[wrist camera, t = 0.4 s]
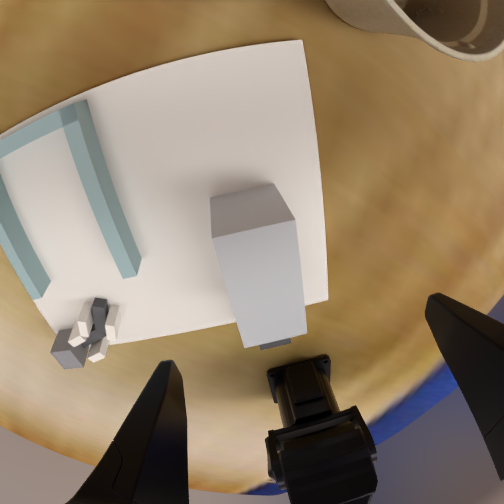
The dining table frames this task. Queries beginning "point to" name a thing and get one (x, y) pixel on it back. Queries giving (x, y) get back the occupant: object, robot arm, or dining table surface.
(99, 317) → the grey blocky piece
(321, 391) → the robot arm
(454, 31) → the flower pot
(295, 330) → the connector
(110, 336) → the clips
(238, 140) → the board
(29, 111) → the dining table surface
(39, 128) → the holder
